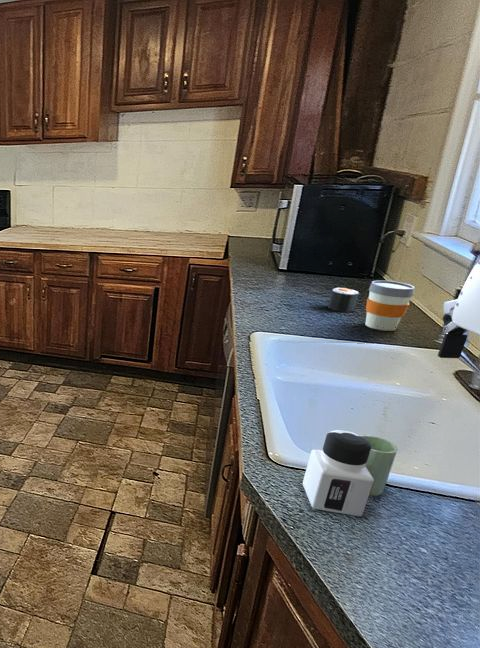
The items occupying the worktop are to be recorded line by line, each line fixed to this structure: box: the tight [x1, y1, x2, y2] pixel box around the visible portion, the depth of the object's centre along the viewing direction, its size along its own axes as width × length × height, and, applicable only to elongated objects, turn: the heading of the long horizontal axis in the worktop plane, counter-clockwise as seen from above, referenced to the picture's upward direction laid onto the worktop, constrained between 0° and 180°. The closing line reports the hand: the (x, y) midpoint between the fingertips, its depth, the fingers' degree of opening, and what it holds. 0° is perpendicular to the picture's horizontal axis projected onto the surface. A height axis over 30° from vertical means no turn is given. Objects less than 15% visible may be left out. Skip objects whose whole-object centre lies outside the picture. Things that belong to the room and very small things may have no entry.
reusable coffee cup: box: [364, 280, 416, 332], centre depth 182 cm, size 13×13×15 cm
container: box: [302, 429, 374, 518], centre depth 91 cm, size 8×8×13 cm
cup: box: [361, 434, 399, 497], centre depth 96 cm, size 6×6×9 cm
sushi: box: [327, 286, 360, 313], centre depth 203 cm, size 8×8×8 cm
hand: (471, 369), depth 82 cm, fingers open, 9 cm apart
